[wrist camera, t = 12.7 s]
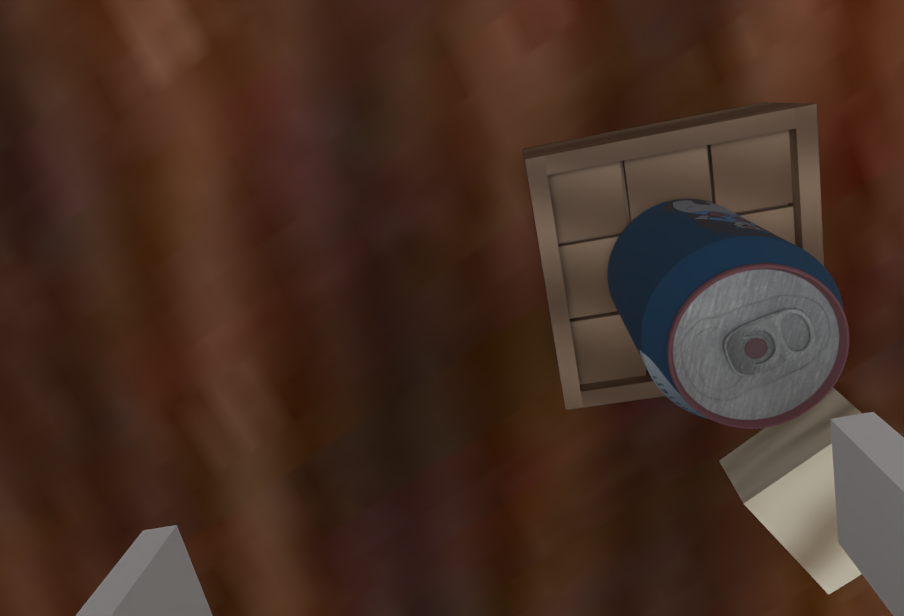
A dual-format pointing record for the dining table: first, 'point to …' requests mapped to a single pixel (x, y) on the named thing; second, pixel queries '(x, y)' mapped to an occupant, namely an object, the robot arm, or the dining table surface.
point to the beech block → (797, 488)
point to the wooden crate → (643, 186)
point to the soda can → (728, 314)
